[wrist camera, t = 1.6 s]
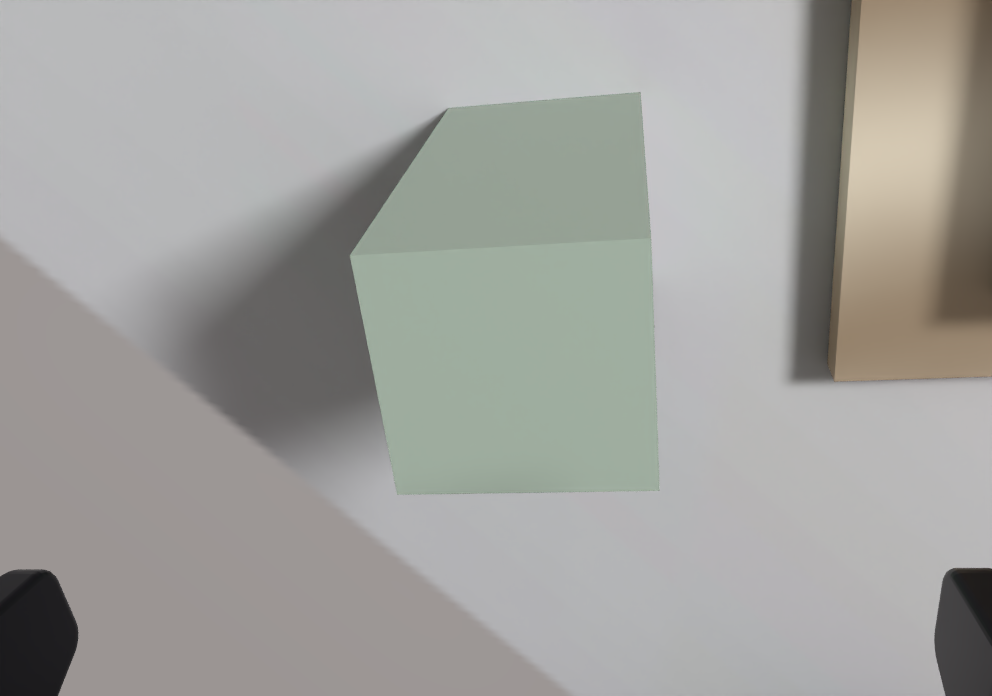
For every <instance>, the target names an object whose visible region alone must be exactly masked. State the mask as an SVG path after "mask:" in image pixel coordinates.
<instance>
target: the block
mask: <svg viewBox="0 0 992 696" xmlns="http://www.w3.org/2000/svg"><path fill="white" fill-rule="evenodd" d="M350 259H351V264H352V269H353V274H354V279H355V284H356V289H357V294H358V300H359V305H360V310H361V315H362V320H363V325H364V330H365V335H366V340H367V345H368V350H369V355H370V360H371V365H372V370H373V375H374V380H375V385H376V390H377V395H378V400H379V405H380V410H381V415H382V420H383V425H384V430H385V435H386V440H387V445H388V450H389V455H390V460H391V465H392V471H393V476H394V481H395V486H396V491H397V495H409V494H477V493H544V492H612V491H659V461H658V431H657V401H656V371H655V341H654V311H653V281H652V251H651V230H650V217H649V203H648V189H647V175H646V161H645V147H644V134H643V120H642V106H641V92H637V93H625V94H613V95H601V96H589V97H577V98H565V99H553V100H541V101H529V102H517V103H504V104H492V105H480V106H468V107H456V108H448V109H447V111H446V112H445V114H444V115H443V117H442V118H441V120H440V121H439V123H438V124H437V126H436V127H435V129H434V130H433V132H432V133H431V135H430V136H429V138H428V139H427V141H426V142H425V144H424V145H423V147H422V148H421V150H420V151H419V153H418V154H417V156H416V157H415V159H414V160H413V162H412V163H411V165H410V166H409V168H408V169H407V171H406V172H405V174H404V175H403V177H402V178H401V180H400V181H399V183H398V184H397V186H396V187H395V189H394V190H393V192H392V193H391V195H390V196H389V198H388V199H387V201H386V202H385V204H384V205H383V207H382V208H381V210H380V211H379V213H378V214H377V216H376V217H375V219H374V220H373V222H372V223H371V225H370V226H369V228H368V229H367V231H366V232H365V234H364V235H363V237H362V238H361V240H360V241H359V243H358V244H357V246H356V247H355V248H354V250H353V251H352V253H351V254H350Z"/></svg>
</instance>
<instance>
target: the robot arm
mask: <svg viewBox="0 0 992 696" xmlns="http://www.w3.org/2000/svg"><path fill="white" fill-rule="evenodd" d="M77 642H78V627H77V623H76V621H75V618H74V616H73V614H72V611H71V609H70V607H69V604H68V602H67V600H66V598H65V595H64V593H63V591H62V588H61V586H60V584H59V581H58V580H57V578H56V576H55V575H53V574H52V573H51V572H50V571H47V570H13V571H10V572H8V573H6V574H4V575H2V576H0V696H58V694H59V691H60V689H61V686H62V684H63V681H64V679H65V676H66V674H67V671H68V669H69V666H70V664H71V661H72V658H73V656H74V653H75V651H76V647H77ZM934 643H935V653H936V659H937V663H938V667H939V671H940V675H941V679H942V683H943V687H944V691H945V695H946V696H992V569H990V568H953V569H951V570H949V571H947V572H946V574H945V576H944V578H943V582H942V588H941V594H940V601H939V608H938V614H937V621H936V628H935V638H934Z"/></svg>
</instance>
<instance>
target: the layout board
mask: <svg viewBox="0 0 992 696" xmlns="http://www.w3.org/2000/svg"><path fill="white" fill-rule="evenodd" d="M827 364H828V367H829V369H830V372H831V374H832V377H833V379H834V382H836V381H867V380H898V379H928V378H959V377H990V376H992V0H852V2H851V17H850V32H849V47H848V62H847V77H846V92H845V107H844V122H843V137H842V152H841V167H840V182H839V196H838V211H837V226H836V241H835V256H834V271H833V286H832V301H831V316H830V331H829V346H828V361H827Z"/></svg>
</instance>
